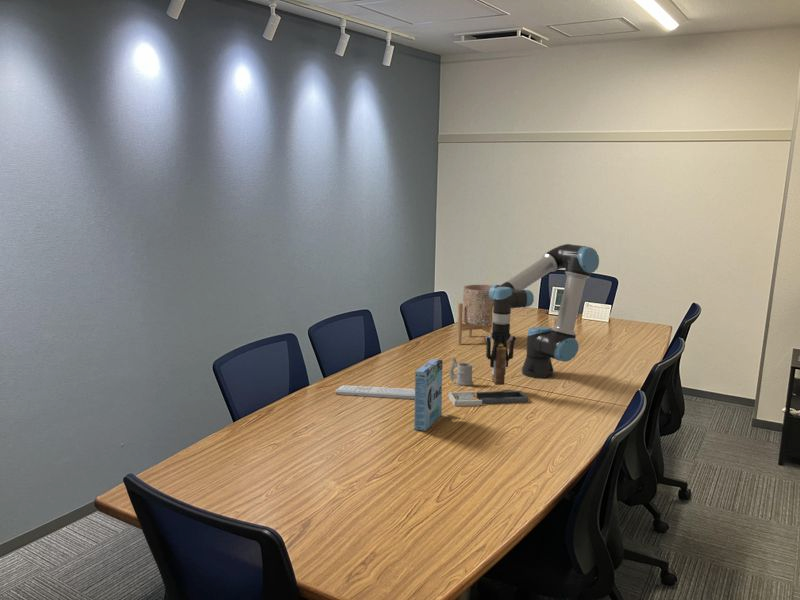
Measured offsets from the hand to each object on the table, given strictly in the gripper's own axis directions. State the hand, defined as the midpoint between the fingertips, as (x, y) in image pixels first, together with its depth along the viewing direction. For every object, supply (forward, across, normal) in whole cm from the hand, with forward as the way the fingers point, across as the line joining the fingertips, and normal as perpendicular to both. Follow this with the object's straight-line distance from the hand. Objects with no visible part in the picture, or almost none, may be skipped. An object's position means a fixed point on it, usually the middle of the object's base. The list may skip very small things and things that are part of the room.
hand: (498, 374), depth 295 cm
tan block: (+4, 0, 0) cm, 4 cm away
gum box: (+9, +38, +32) cm, 50 cm away
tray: (+9, +18, +12) cm, 23 cm away
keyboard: (+10, +49, -4) cm, 50 cm away
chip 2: (+8, +17, +12) cm, 22 cm away
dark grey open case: (+9, +2, +12) cm, 15 cm away
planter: (+9, -17, -89) cm, 91 cm away
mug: (+9, +14, -13) cm, 21 cm away
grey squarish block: (+8, +20, +12) cm, 24 cm away
